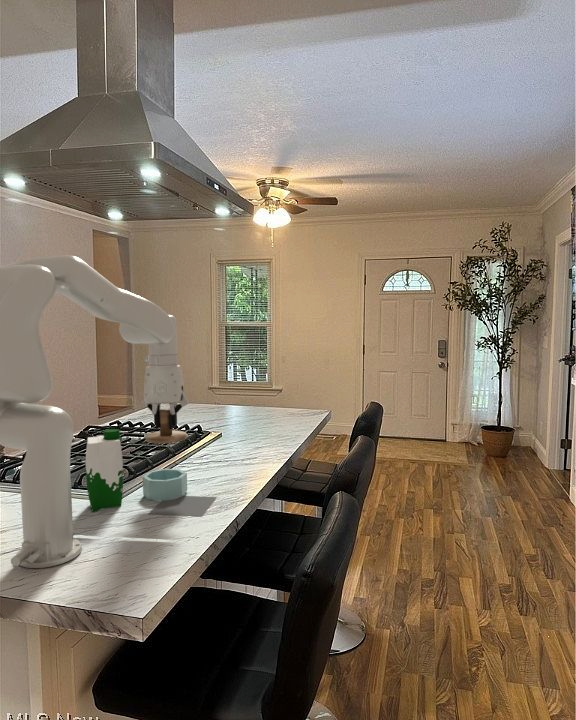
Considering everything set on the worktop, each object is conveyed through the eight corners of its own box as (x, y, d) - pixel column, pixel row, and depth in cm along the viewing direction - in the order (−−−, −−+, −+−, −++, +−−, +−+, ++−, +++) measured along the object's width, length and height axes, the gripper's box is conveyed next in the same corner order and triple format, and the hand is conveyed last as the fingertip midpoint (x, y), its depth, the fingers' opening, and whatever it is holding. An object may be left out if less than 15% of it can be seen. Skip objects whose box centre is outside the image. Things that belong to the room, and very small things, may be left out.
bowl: (177, 503, 142) (177, 481, 141) (138, 502, 143) (137, 480, 143) (191, 490, 153) (190, 469, 152) (154, 488, 154) (153, 468, 154)
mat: (202, 518, 131) (202, 516, 131) (147, 516, 133) (147, 514, 133) (217, 499, 145) (217, 497, 145) (167, 497, 147) (167, 495, 147)
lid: (178, 444, 140) (177, 413, 139) (138, 442, 141) (137, 413, 141) (192, 434, 150) (191, 406, 150) (155, 433, 152) (154, 405, 152)
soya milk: (125, 508, 139) (122, 433, 137) (87, 513, 135) (84, 436, 134) (122, 498, 147) (120, 426, 145) (87, 502, 144) (84, 429, 142)
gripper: (128, 362, 142) (131, 430, 143) (188, 362, 139) (190, 431, 141) (140, 359, 149) (143, 424, 151) (197, 359, 146) (199, 425, 148)
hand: (165, 427), depth 146 cm, fingers closed on lid, 3 cm apart
